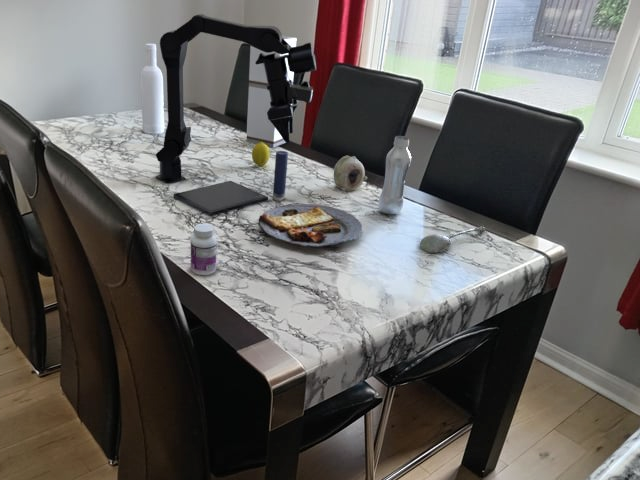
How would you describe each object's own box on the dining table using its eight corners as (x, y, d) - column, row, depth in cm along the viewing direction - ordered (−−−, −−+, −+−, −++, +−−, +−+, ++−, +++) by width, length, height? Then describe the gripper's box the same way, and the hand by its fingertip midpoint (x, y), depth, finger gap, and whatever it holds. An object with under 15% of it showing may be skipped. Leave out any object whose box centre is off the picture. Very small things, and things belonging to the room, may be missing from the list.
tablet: (173, 197, 155) (173, 193, 155) (230, 183, 167) (230, 180, 167) (210, 216, 145) (210, 212, 145) (268, 200, 157) (268, 196, 157)
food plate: (288, 259, 126) (290, 245, 124) (241, 220, 144) (242, 207, 142) (379, 242, 137) (381, 228, 135) (325, 207, 154) (326, 195, 153)
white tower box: (288, 141, 211) (296, 37, 193) (273, 147, 203) (280, 40, 186) (261, 135, 216) (267, 34, 199) (246, 141, 208) (250, 36, 191)
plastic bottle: (402, 210, 156) (416, 136, 146) (399, 218, 150) (414, 142, 141) (378, 206, 158) (391, 133, 148) (375, 214, 152) (387, 139, 142)
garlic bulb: (332, 194, 171) (323, 162, 167) (348, 184, 175) (341, 152, 172) (357, 194, 164) (349, 160, 160) (374, 183, 168) (367, 150, 165)
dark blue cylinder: (270, 198, 158) (273, 152, 152) (278, 196, 160) (282, 150, 154) (278, 202, 156) (282, 155, 150) (286, 199, 158) (290, 153, 152)
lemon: (267, 170, 180) (268, 145, 176) (249, 168, 180) (250, 143, 177) (270, 165, 184) (271, 140, 180) (253, 163, 185) (254, 138, 181)
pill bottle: (190, 263, 122) (190, 221, 117) (216, 264, 122) (216, 222, 118) (190, 276, 117) (190, 232, 112) (216, 276, 118) (217, 232, 113)
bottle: (162, 134, 209) (160, 46, 195) (140, 133, 209) (136, 44, 195) (165, 129, 216) (163, 43, 202) (144, 128, 216) (141, 42, 202)
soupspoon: (412, 247, 137) (434, 259, 132) (415, 235, 135) (437, 247, 130) (471, 227, 148) (493, 237, 143) (474, 215, 146) (497, 225, 141)
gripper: (305, 77, 140) (316, 140, 147) (310, 66, 156) (320, 124, 163) (261, 87, 143) (274, 148, 150) (270, 75, 159) (282, 131, 166)
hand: (289, 137), depth 157 cm, fingers open, 9 cm apart
